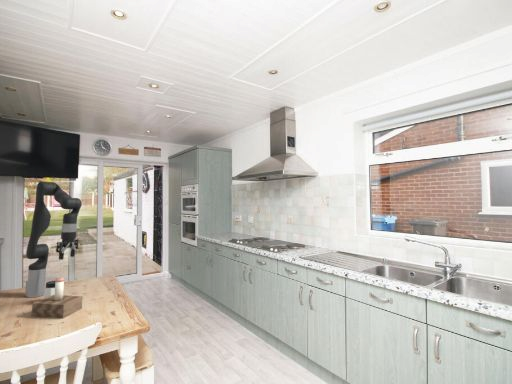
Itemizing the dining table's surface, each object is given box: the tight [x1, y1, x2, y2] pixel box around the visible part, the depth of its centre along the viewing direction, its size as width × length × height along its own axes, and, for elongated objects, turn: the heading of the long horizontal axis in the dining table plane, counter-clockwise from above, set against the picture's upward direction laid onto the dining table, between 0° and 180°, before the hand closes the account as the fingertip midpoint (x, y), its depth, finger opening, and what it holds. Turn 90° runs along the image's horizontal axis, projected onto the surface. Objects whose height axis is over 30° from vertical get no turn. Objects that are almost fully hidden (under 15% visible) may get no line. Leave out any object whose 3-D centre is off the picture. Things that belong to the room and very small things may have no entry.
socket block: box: [31, 294, 84, 319], centre depth 153 cm, size 18×14×7 cm
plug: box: [54, 277, 65, 301], centre depth 153 cm, size 4×4×13 cm
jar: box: [43, 280, 55, 299], centre depth 169 cm, size 9×8×12 cm
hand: (66, 258), depth 163 cm, fingers open, 8 cm apart
